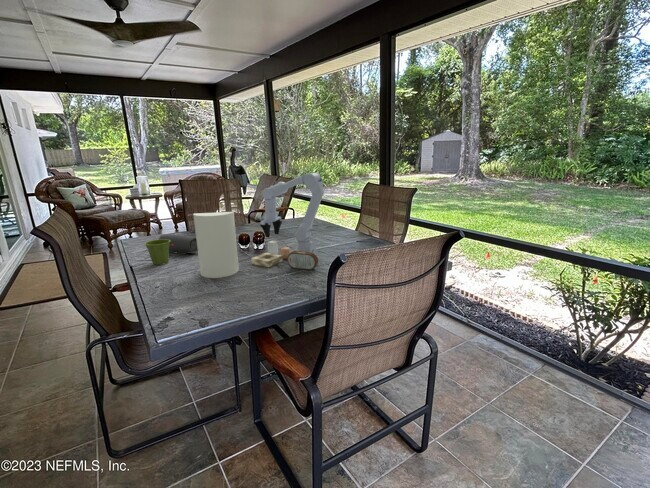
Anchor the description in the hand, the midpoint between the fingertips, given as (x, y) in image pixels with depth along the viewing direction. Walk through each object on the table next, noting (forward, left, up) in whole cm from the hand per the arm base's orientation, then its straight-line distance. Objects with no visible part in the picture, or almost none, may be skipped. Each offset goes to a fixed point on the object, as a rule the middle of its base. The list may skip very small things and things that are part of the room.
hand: (272, 235), depth 181 cm
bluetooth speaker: (+49, +23, -11) cm, 55 cm away
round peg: (-10, +2, -10) cm, 15 cm away
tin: (-28, +12, -11) cm, 32 cm away
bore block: (-7, +13, -10) cm, 18 cm away
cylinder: (+4, +34, -11) cm, 36 cm away
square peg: (0, 0, -10) cm, 11 cm away
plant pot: (+41, +40, -11) cm, 58 cm away
